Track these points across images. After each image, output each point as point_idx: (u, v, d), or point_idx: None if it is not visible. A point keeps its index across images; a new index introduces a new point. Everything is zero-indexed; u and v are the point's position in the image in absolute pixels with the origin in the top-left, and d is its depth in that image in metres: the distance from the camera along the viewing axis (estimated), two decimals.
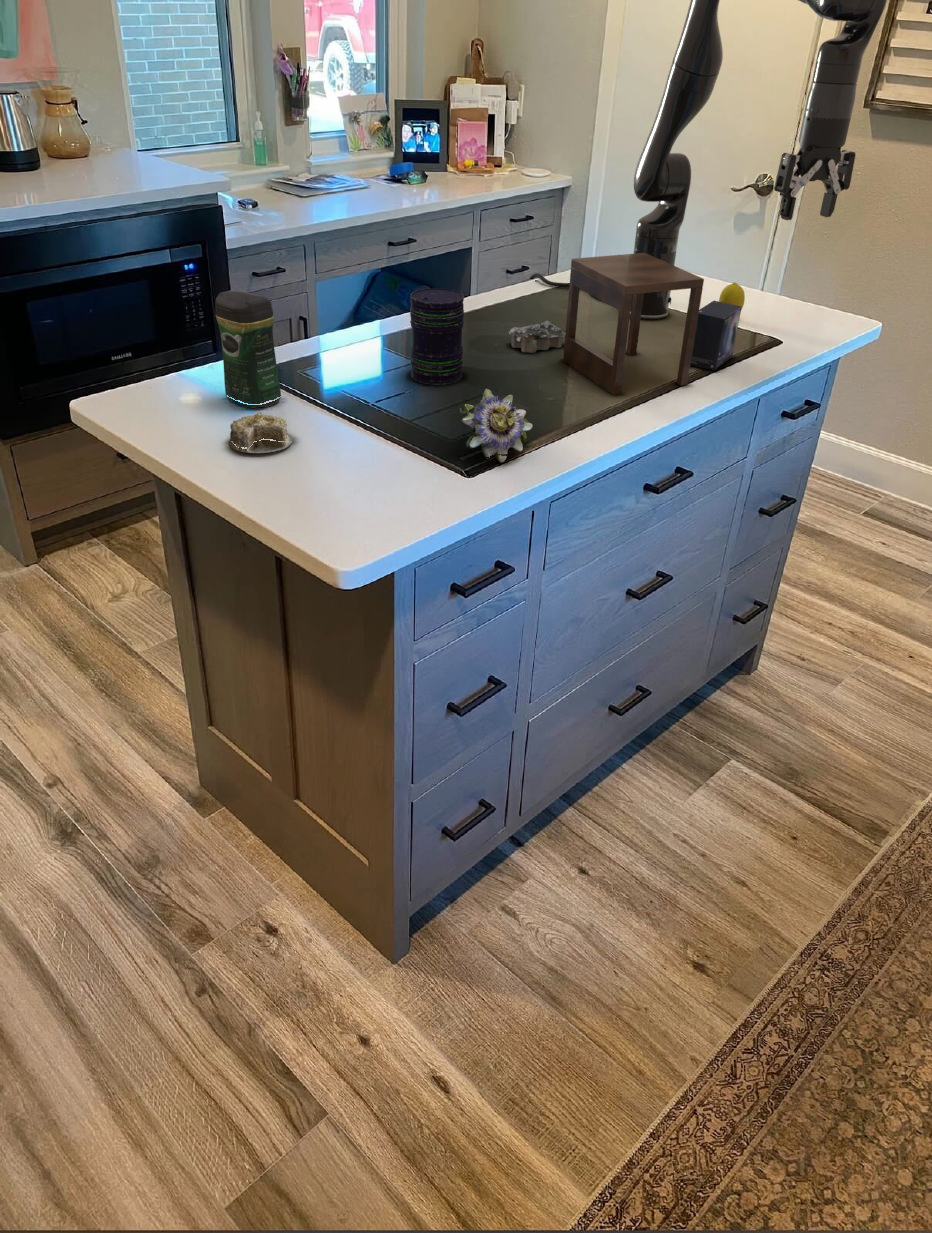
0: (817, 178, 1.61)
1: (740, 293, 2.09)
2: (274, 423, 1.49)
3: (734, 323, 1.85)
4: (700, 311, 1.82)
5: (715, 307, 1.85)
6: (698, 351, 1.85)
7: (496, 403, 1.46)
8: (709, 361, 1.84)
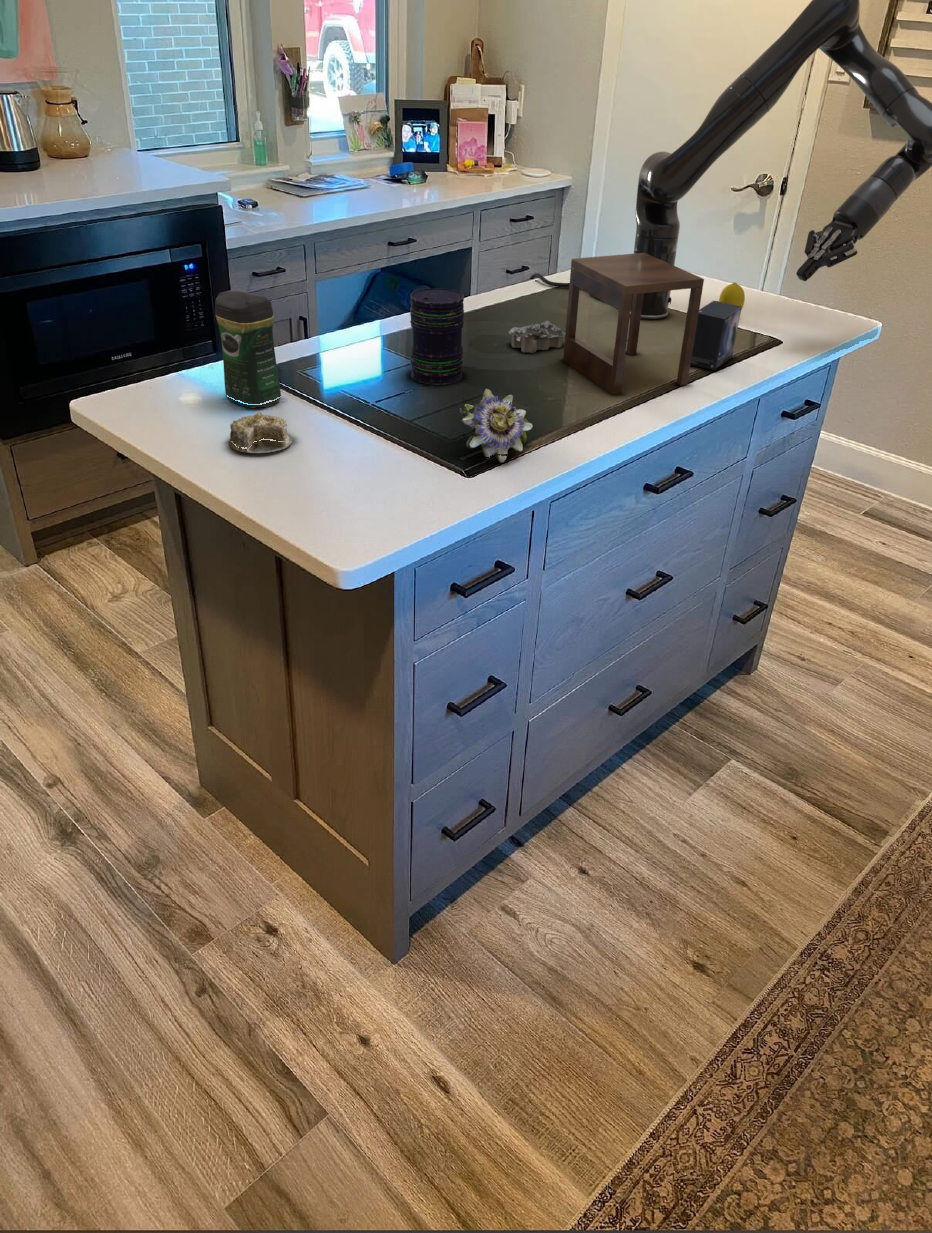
0: None
1: (740, 293, 2.09)
2: (274, 423, 1.49)
3: (734, 323, 1.85)
4: (700, 311, 1.82)
5: (715, 306, 1.85)
6: (698, 351, 1.85)
7: (496, 403, 1.46)
8: (709, 361, 1.84)
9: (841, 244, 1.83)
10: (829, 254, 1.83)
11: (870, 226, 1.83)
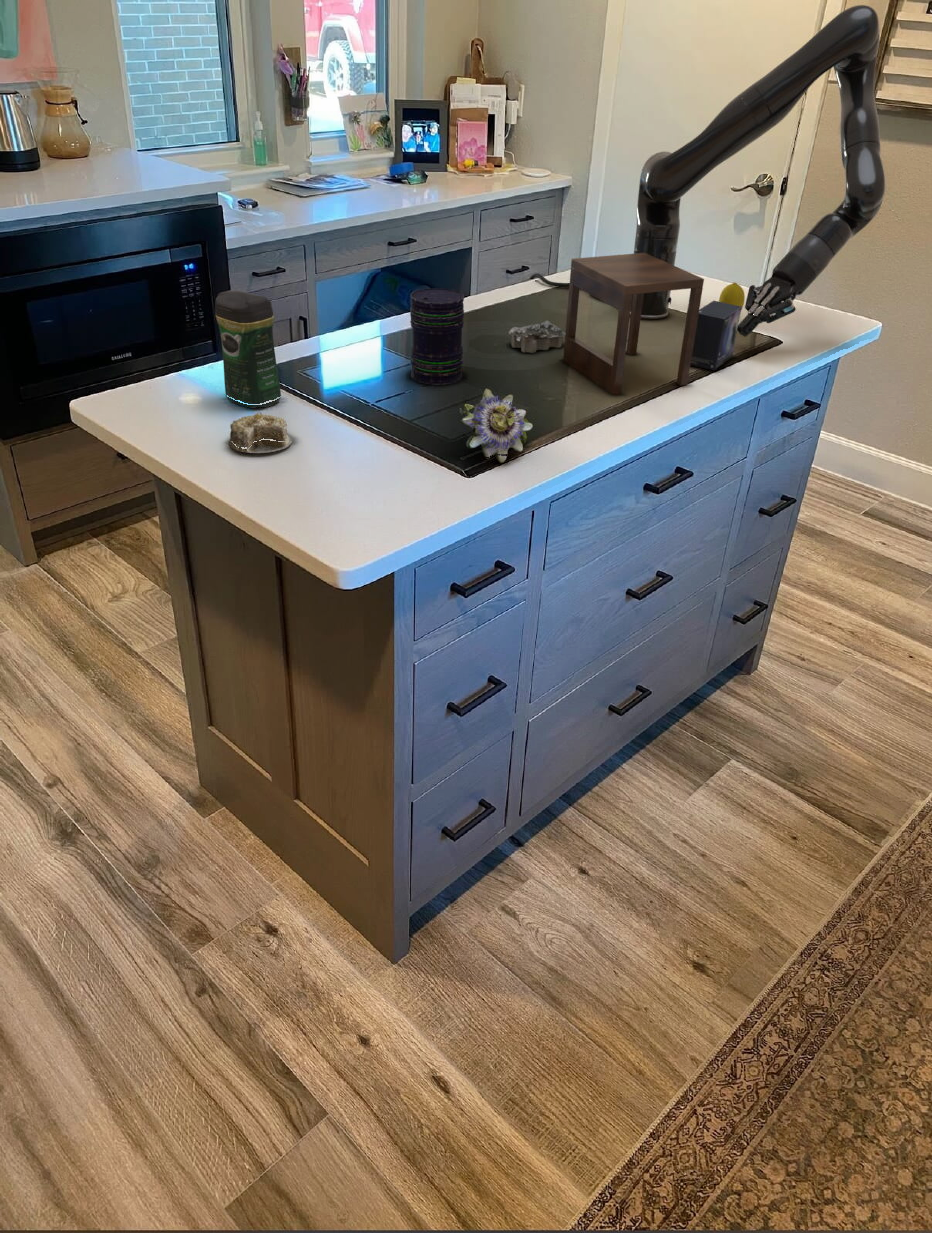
0: None
1: (740, 293, 2.09)
2: (274, 423, 1.49)
3: (734, 323, 1.85)
4: (700, 311, 1.82)
5: (715, 307, 1.85)
6: (698, 351, 1.85)
7: (496, 403, 1.46)
8: (709, 361, 1.84)
9: (780, 301, 1.85)
10: (768, 311, 1.85)
11: (808, 283, 1.85)
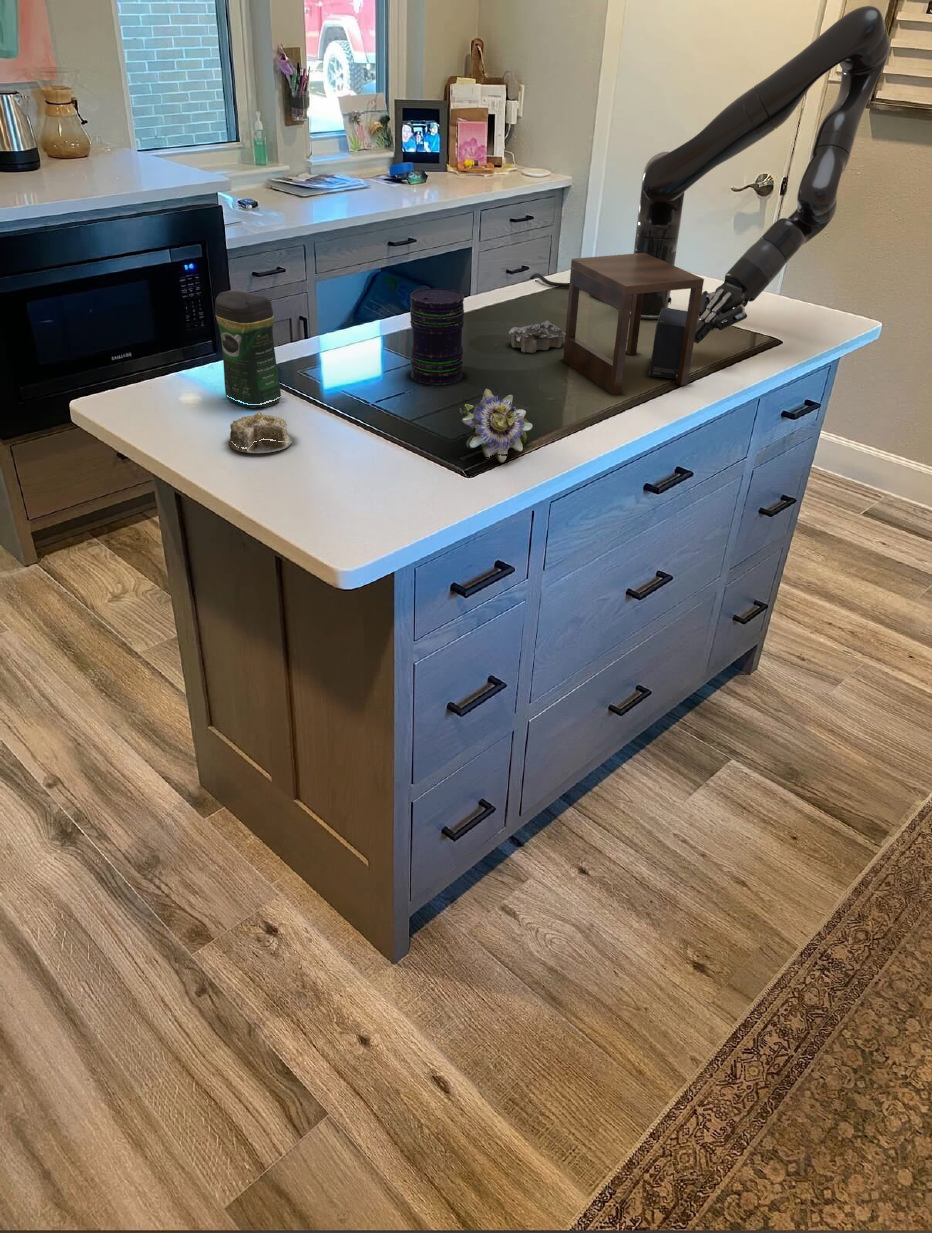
0: None
1: None
2: (274, 423, 1.49)
3: None
4: (661, 321, 1.76)
5: (670, 314, 1.80)
6: (661, 361, 1.79)
7: (496, 403, 1.46)
8: (674, 371, 1.79)
9: (731, 307, 1.81)
10: (719, 317, 1.81)
11: (760, 289, 1.81)
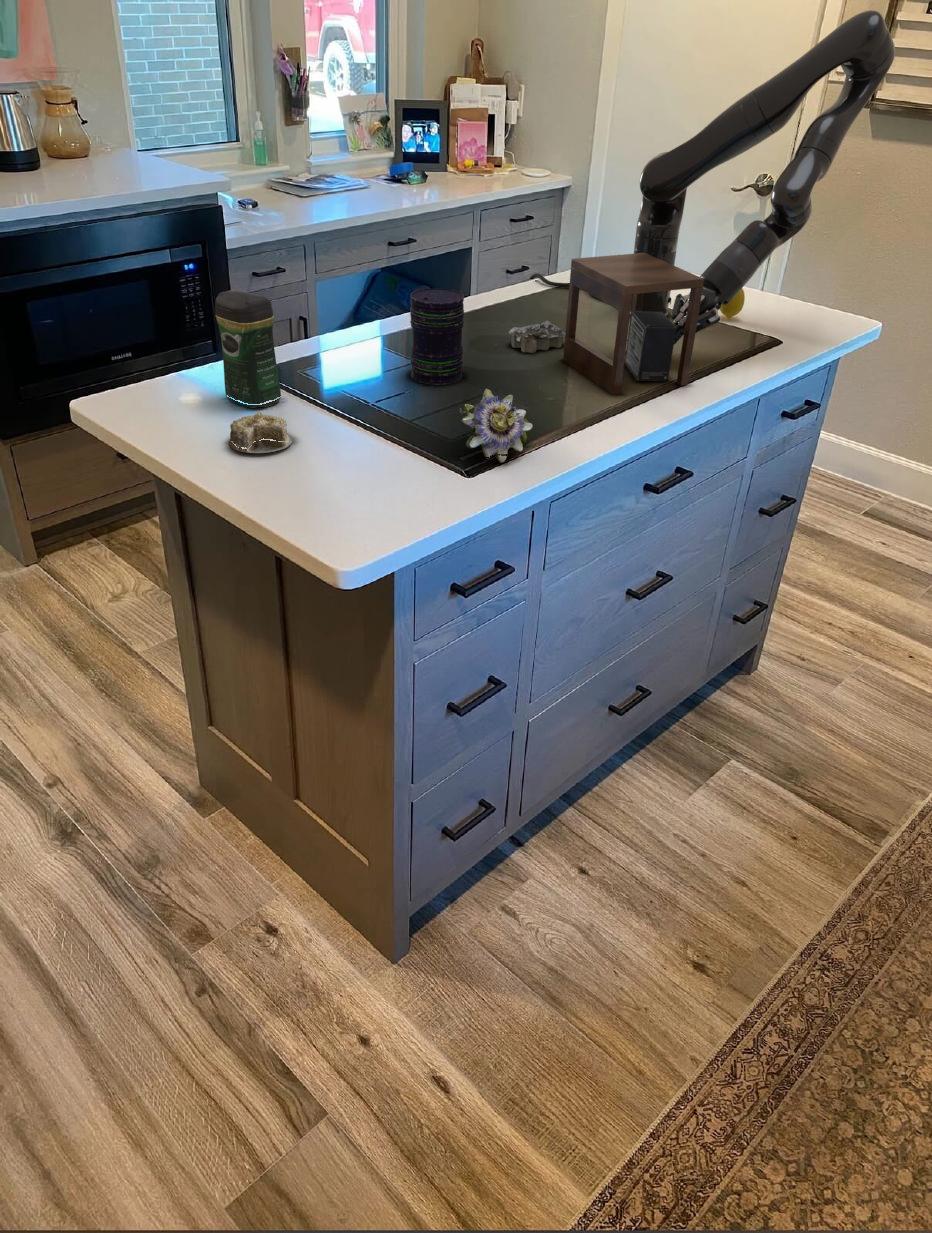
0: None
1: (740, 293, 2.09)
2: (274, 423, 1.49)
3: None
4: (647, 325, 1.74)
5: (648, 317, 1.78)
6: (650, 365, 1.77)
7: (496, 403, 1.46)
8: (662, 373, 1.78)
9: (705, 310, 1.79)
10: None
11: (734, 292, 1.79)
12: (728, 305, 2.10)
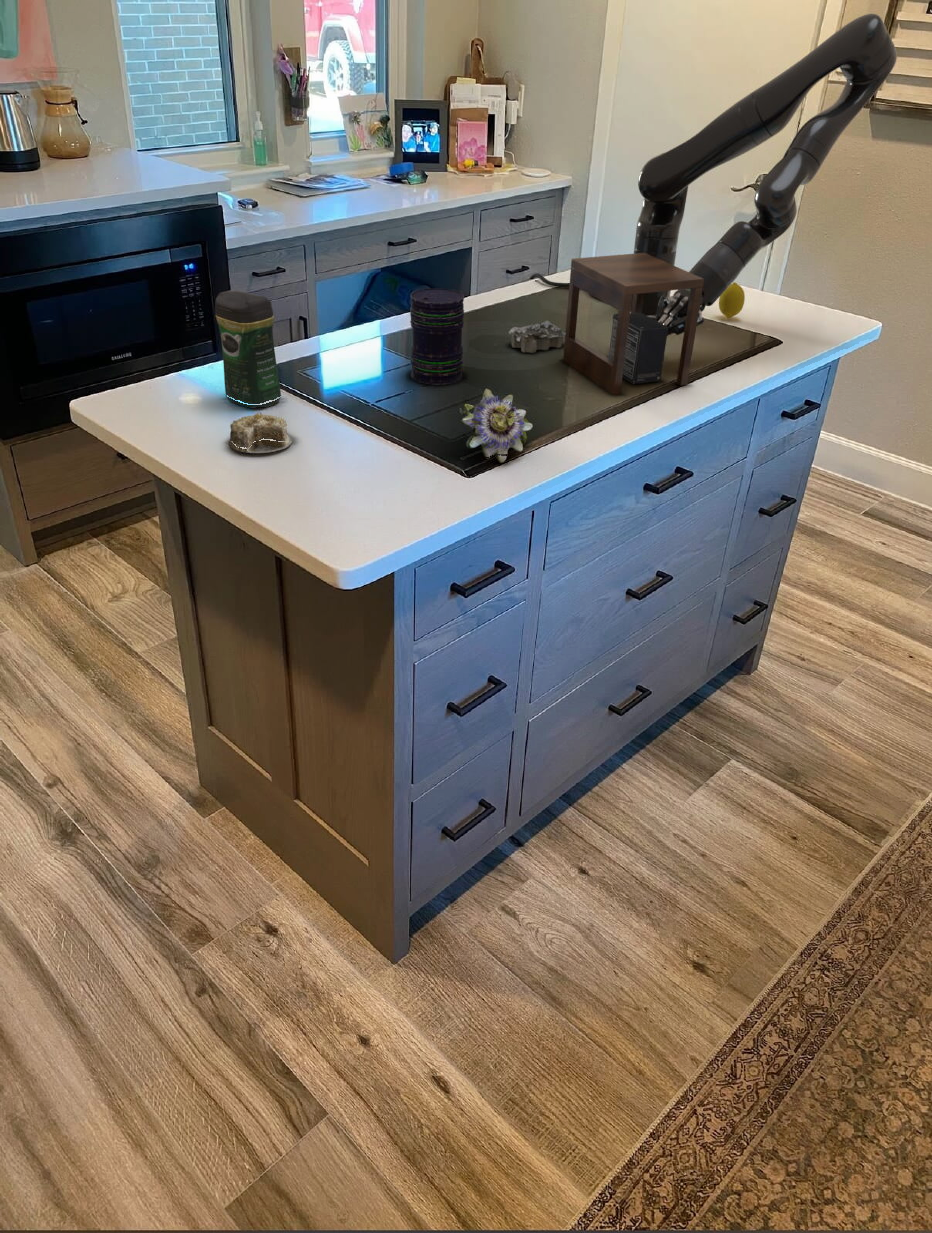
0: (674, 310, 1.80)
1: (740, 293, 2.09)
2: (274, 423, 1.49)
3: None
4: (641, 327, 1.73)
5: (634, 319, 1.76)
6: (645, 367, 1.76)
7: (496, 403, 1.46)
8: (656, 373, 1.78)
9: None
10: (676, 322, 1.78)
11: (718, 293, 1.78)
12: (728, 305, 2.10)
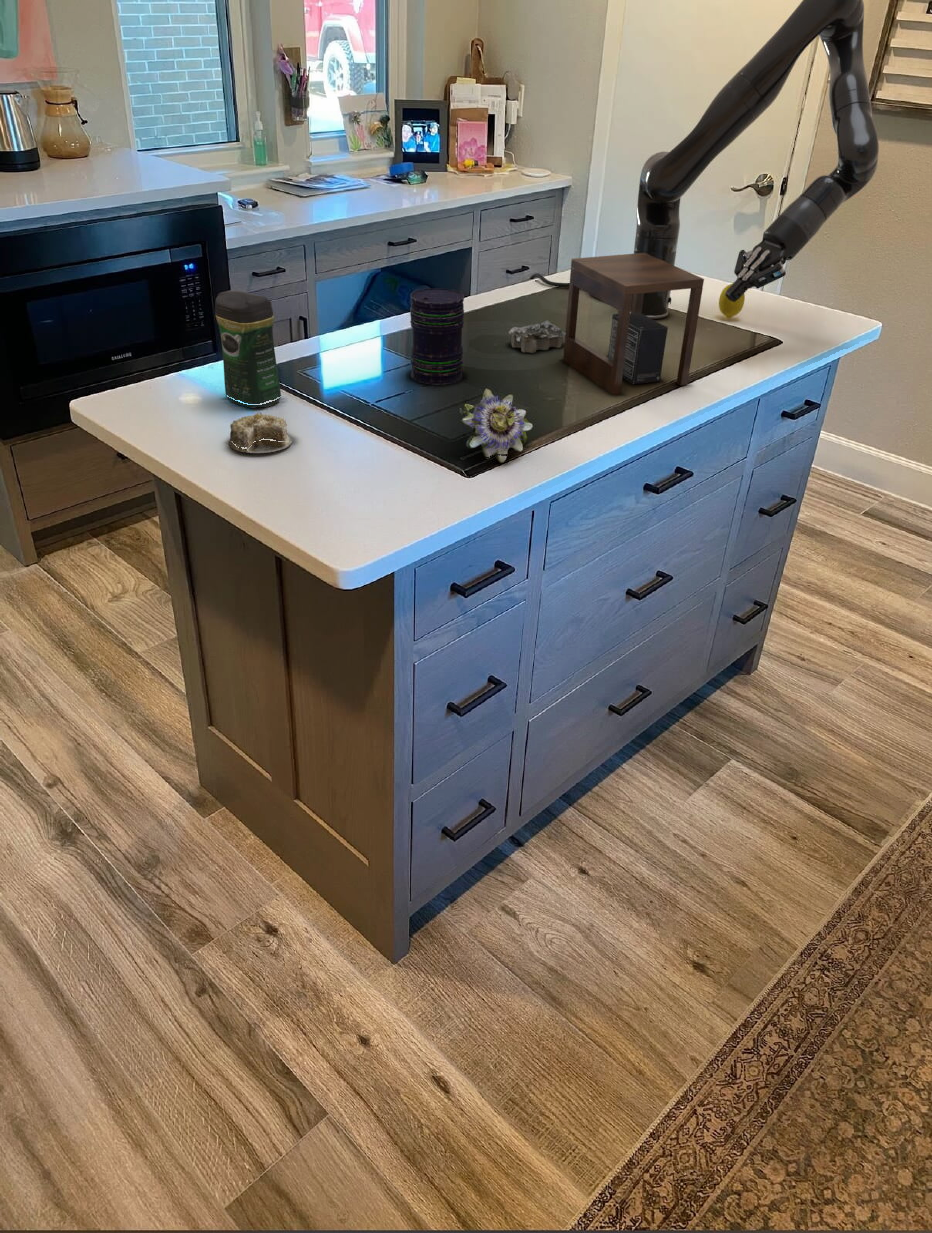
0: None
1: None
2: (274, 423, 1.49)
3: None
4: (641, 327, 1.72)
5: (634, 319, 1.76)
6: (645, 367, 1.76)
7: (496, 403, 1.46)
8: (655, 374, 1.78)
9: (770, 265, 1.79)
10: (757, 275, 1.79)
11: (799, 247, 1.79)
12: (728, 305, 2.10)
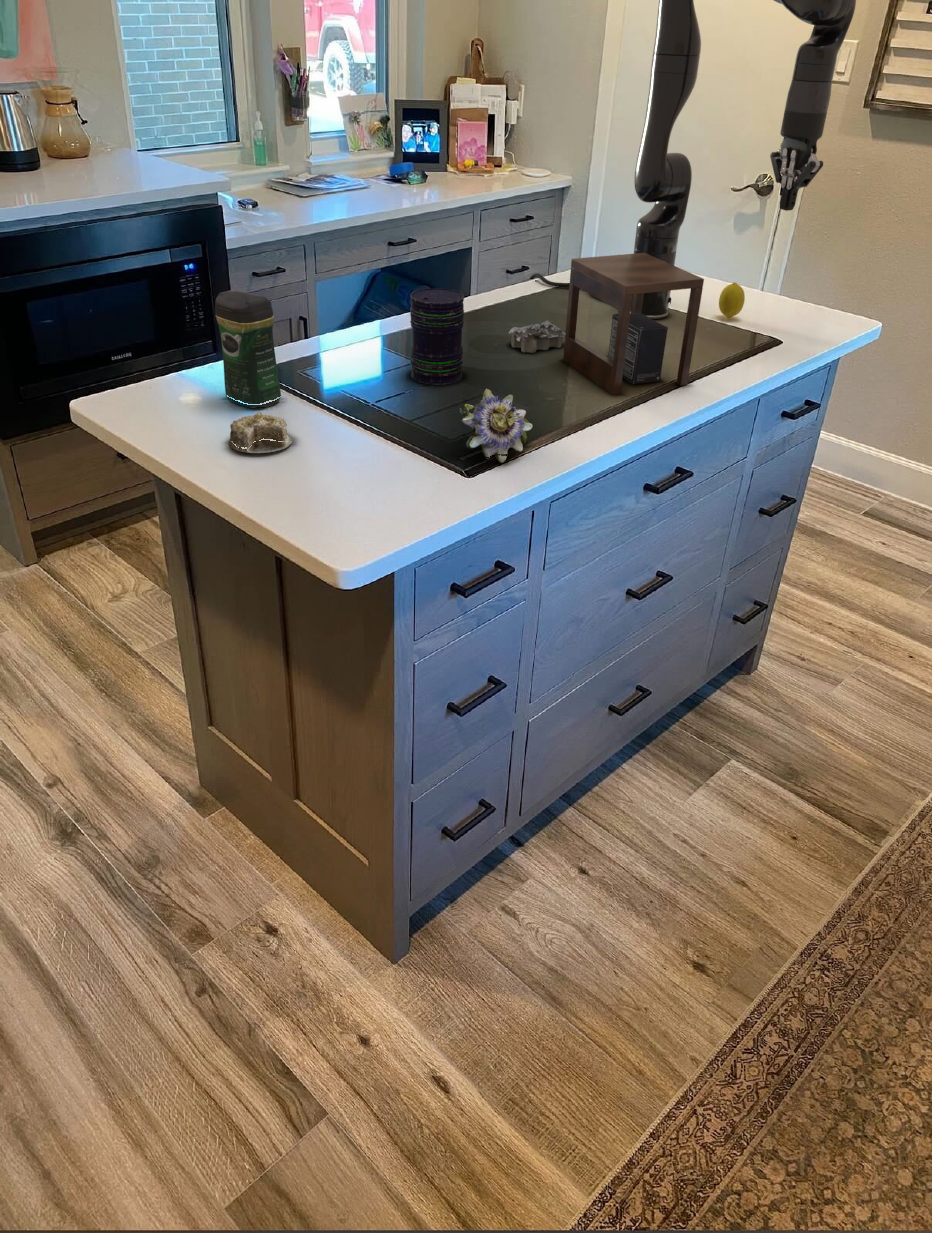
0: None
1: (740, 293, 2.09)
2: (274, 423, 1.49)
3: None
4: (641, 327, 1.72)
5: (634, 319, 1.76)
6: (645, 367, 1.76)
7: (496, 403, 1.46)
8: (655, 374, 1.78)
9: (803, 162, 1.75)
10: (798, 180, 1.77)
11: (821, 125, 1.72)
12: (728, 305, 2.10)
